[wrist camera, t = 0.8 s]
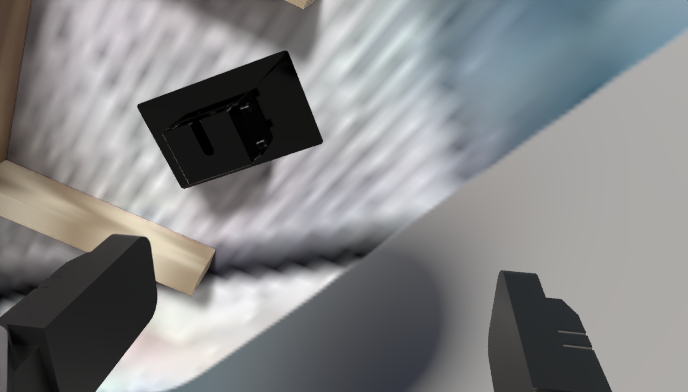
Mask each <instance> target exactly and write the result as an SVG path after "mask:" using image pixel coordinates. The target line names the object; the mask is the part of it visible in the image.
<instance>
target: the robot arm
mask: <svg viewBox="0 0 688 392" xmlns="http://www.w3.org/2000/svg"><path fill="white" fill-rule="evenodd" d="M156 305H157V287H156V279H155V272H154V264H153V256H152V249H151V244H150V241H149V239H148V238H147V237H145V236H135V235H125V234H112V235H110V236H109V237H108V238H106V239H105V240H104V241H103V242H102V243H101V244H99V245H98V246H97V247H96V248H95V249H94V250H92V251H91V252H87V253H85V254H83V255H81V256H79V257H77V258H75V259H73V260H71V261H69V262H66V263H65V264H64V265H63V266H62V267H60V268H59V269H58V270H57V271H56V272H54V273H53V274H52V275H51V278H47V279H46V280H45V281H44V282H42V283H41V284H40V285H39V286H38V289H34V290H33V291H31V292H30V293H29V294H28V295H27V296H25V297H24V298H23V299H22V300H21V301H19V302H18V303H17V304H16V305H15V306H13V307H12V308H11V309H10V310H9V311H7V312H6V313H5V314H4V315H2V316H1V317H0V392H96V390H97V389H98V388H99V386H100V385H101V384H102V382H103V381H104V380H105V379H106V377H107V376H108V375H109V373H110V372H111V371H112V370H113V368H114V367H115V366H116V364H117V363H118V362H119V360H120V359H121V358H122V357H123V355H124V354H125V353H126V351H127V350H128V349H129V348H130V346H131V345H132V344H133V342H134V341H135V340H136V338H137V337H138V336H139V335H140V333H141V332H142V331H143V329H144V328H145V327H146V326H147V324H148V323H149V322H150V320H151V319H152V317H153V315H154V312H155V309H156ZM488 356H489V363H490V369H491V376H492V382H493V388H494V392H612V391H611V388H610V386H609V384H608V382H607V379H606V377H605V375H604V372H603V370H602V368H601V366H600V363H599V361H598V359H597V357H596V354H595V352H594V350H592V345H591V343H590V341H589V338H588V336H586V331H585V329H584V327H583V325H582V322H581V320H580V318H579V316H578V314H576V312H574V311H573V310H572V309H571V308H570V307H569V306H568V305H567V304H566V303H565V302H564V301H563V300H562V299H554V298H546V297H545V294H544V292H543V289H542V286H541V283H540V281H539V278H538V276H537V274H535V273H524V272H513V271H502V270H501V271H500V273H499V275H498V280H497V286H496V291H495V298H494V304H493V310H492V316H491V322H490V328H489V336H488Z"/></svg>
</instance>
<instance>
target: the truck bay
mask: <svg viewBox="0 0 688 392" xmlns="http://www.w3.org/2000/svg"><path fill="white" fill-rule="evenodd" d="M285 1H287V2H289V3H291V4H294V5H296V6H298V7H300V8H302V9H304V8H306V7H307V6H309V5H310V4H312V3H313V2H314V0H285ZM30 6H31V0H0V216H2V217H4V218H7V219H9V220H11V221H14V222H16V223H18V224H21V225H23V226H26V227H28V228H30V229H33V230H35V231H38V232H40V233H42V234H45V235H47V236H49V237H52V238H54V239H57V240H59V241H61V242H64V243H66V244H69V245H71V246H73V247H76V248H78V249H81V250H83V251H85V252H91V251H92V250H94V249H95V248H96V247H97V246H98V245H99V244H101V243H102V242H103V241H104V240H105V239H106V238H108V237H109V236H110V235H112V234H125V235H135V236H145V237H147V238H148V239H149V241H150V244H151V249H152V256H153V264H154V272H155V279H156V281H157V282H159V283H162V284H164V285H166V286H169V287H171V288H174V289H176V290H178V291H181V292H183V293H186V294H188V295H190V296H192V295H193V293H194V291H195V290H196V288H197V286H198V285H199V283H200V281H201V280H202V278H203V276H204V275H205V273H206V271H207V270H208V268H209V266H210V263H211V261H212V258H213V256H214V253H215V251H216V250H215V249H213V248H211V247H208V246H206V245H204V244H201V243H199V242H197V241H194V240H192V239H190V238H187V237H185V236H183V235H180V234H178V233H176V232H173V231H171V230H169V229H166V228H164V227H162V226H159V225H157V224H155V223H152V222H150V221H148V220H145V219H143V218H141V217H138V216H136V215H134V214H131V213H129V212H127V211H124V210H122V209H120V208H117V207H115V206H113V205H110V204H108V203H106V202H103V201H101V200H99V199H96V198H94V197H92V196H89V195H87V194H85V193H82V192H80V191H78V190H75V189H73V188H71V187H68V186H66V185H64V184H61V183H59V182H57V181H54V180H52V179H50V178H47V177H45V176H43V175H40V174H38V173H36V172H34V171H31V170H29V169H27V168H24V167H22V166H20V165H17V164H15V163H13V162H10V161H8V160H6V158H7V151H8V145H9V139H10V132H11V126H12V120H13V113H14V107H15V101H16V94H17V88H18V82H19V75H20V69H21V63H22V56H23V50H24V44H25V37H26V31H27V25H28V18H29V12H30Z"/></svg>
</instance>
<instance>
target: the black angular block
mask: <svg viewBox="0 0 688 392" xmlns="http://www.w3.org/2000/svg"><path fill="white" fill-rule="evenodd" d="M137 108H138V110H139V112H140V113H141V115H142V117H143V119H144V121H145V122H146V124H147V126H148V128H149V130H150V132H151V133H152V135H153V137H154V139H155V141H156V143H157V144H158V146H159V148H160V150H161V152H162V154H163V155H164V157H165V159H166V161H167V163H168V164H169V166H170V168H171V170H172V172H173V174H174V175H175V177H176V179H177V181H178V183H179V185H180V186H181V188H183V189H186V188H189V187H192V186H195V185H198V184H201V183H204V182H207V181H210V180H213V179H216V178H219V177H222V176H225V175H228V174H231V173H234V172H237V171H240V170H243V169H246V168H249V167H252V166H256V165H259V164H262V163H265V162H268V161H271V160H274V159H277V158H280V157H283V156H286V155H289V154H292V153H295V152H298V151H301V150H304V149H307V148H310V147H313V146H316V145H319V144H322V142H323V139H322V137H321V134H320V132H319V129H318V127H317V124H316V122H315V119H314V116H313V114H312V111H311V109H310V106H309V104H308V101H307V99H306V96H305V93H304V91H303V88H302V86H301V83H300V81H299V78H298V76H297V73H296V70H295V68H294V65H293V63H292V60H291V58H290V55H289V53H288V51H286V50H284V51H281V52H278V53H276V54H273V55H270V56H268V57H265V58H262V59H260V60H257V61H254V62H251V63H249V64H246V65H243V66H241V67H238V68H235V69H232V70H230V71H227V72H224V73H222V74H219V75H216V76H213V77H211V78H208V79H205V80H203V81H200V82H197V83H194V84H192V85H189V86H186V87H184V88H181V89H178V90H175V91H173V92H170V93H167V94H165V95H162V96H159V97H157V98H154V99H151V100H148V101H146V102H143V103H140V104H138V106H137Z"/></svg>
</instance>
